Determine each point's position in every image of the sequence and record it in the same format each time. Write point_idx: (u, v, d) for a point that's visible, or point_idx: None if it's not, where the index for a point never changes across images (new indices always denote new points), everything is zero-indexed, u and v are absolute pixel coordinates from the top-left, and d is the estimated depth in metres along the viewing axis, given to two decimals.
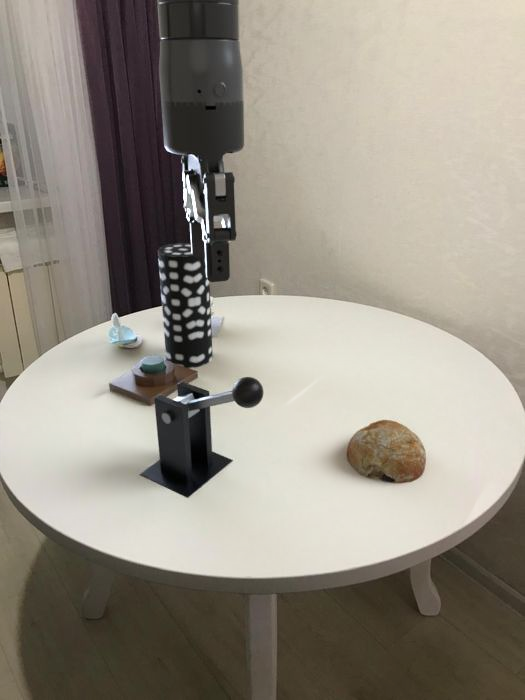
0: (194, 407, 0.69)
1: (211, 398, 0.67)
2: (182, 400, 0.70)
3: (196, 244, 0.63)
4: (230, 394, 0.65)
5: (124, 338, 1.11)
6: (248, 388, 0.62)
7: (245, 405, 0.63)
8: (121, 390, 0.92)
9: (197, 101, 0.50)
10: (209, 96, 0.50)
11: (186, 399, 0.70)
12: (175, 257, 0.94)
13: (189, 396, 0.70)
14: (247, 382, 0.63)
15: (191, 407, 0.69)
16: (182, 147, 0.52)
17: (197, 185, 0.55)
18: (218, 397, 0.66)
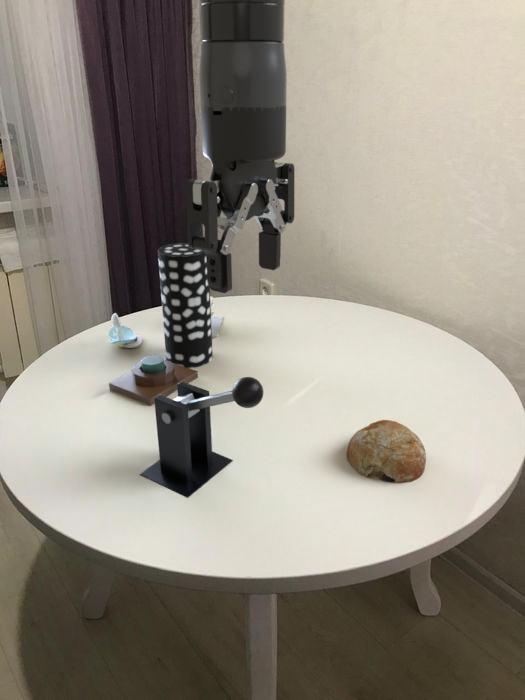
0: (194, 407, 0.69)
1: (211, 398, 0.67)
2: (182, 400, 0.70)
3: (262, 254, 0.61)
4: (230, 394, 0.65)
5: (124, 338, 1.11)
6: (248, 388, 0.62)
7: (245, 405, 0.63)
8: (121, 390, 0.92)
9: (208, 105, 0.49)
10: (216, 101, 0.49)
11: (186, 399, 0.70)
12: (175, 257, 0.94)
13: (189, 396, 0.70)
14: (247, 382, 0.63)
15: (191, 407, 0.69)
16: (203, 150, 0.52)
17: None
18: (218, 397, 0.66)
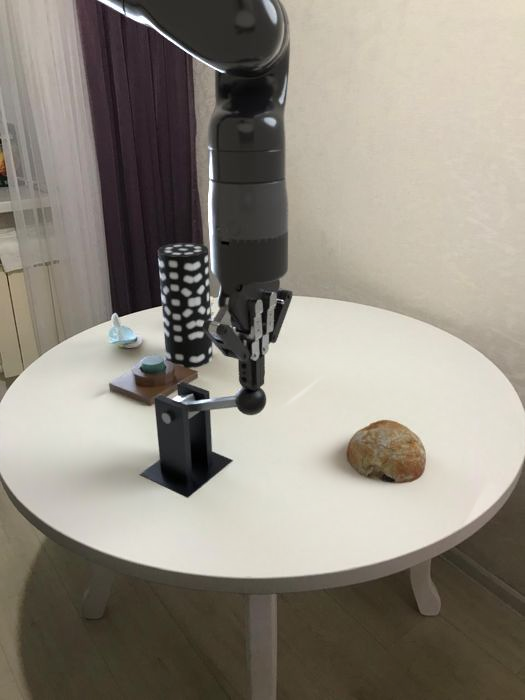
0: (195, 409, 0.69)
1: (213, 402, 0.67)
2: (183, 401, 0.70)
3: None
4: (233, 400, 0.65)
5: (124, 338, 1.11)
6: (252, 396, 0.63)
7: (248, 413, 0.63)
8: (121, 390, 0.92)
9: (216, 235, 0.54)
10: (224, 233, 0.53)
11: (187, 400, 0.70)
12: (175, 257, 0.94)
13: (190, 397, 0.70)
14: (251, 390, 0.63)
15: (191, 408, 0.69)
16: (211, 270, 0.57)
17: None
18: (220, 401, 0.66)
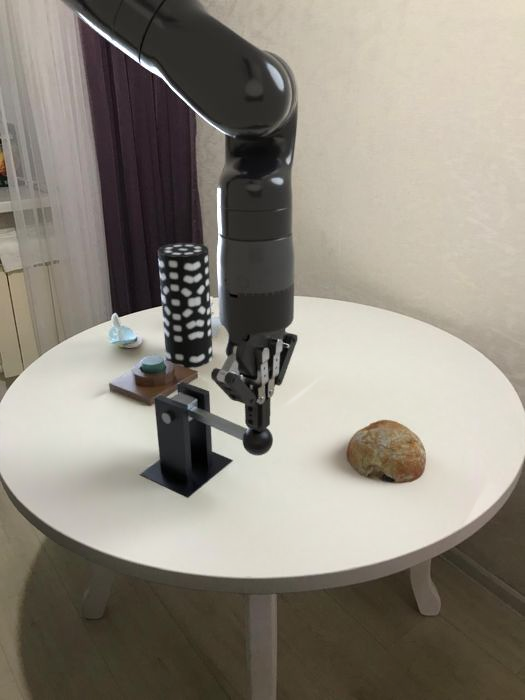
0: (196, 417, 0.70)
1: (218, 423, 0.68)
2: None
3: None
4: (240, 433, 0.66)
5: (124, 338, 1.11)
6: (262, 443, 0.64)
7: (252, 453, 0.65)
8: (121, 390, 0.92)
9: (225, 287, 0.56)
10: (232, 286, 0.55)
11: (190, 405, 0.70)
12: (175, 257, 0.94)
13: (194, 402, 0.70)
14: (263, 436, 0.64)
15: (193, 415, 0.70)
16: None
17: None
18: (226, 427, 0.67)
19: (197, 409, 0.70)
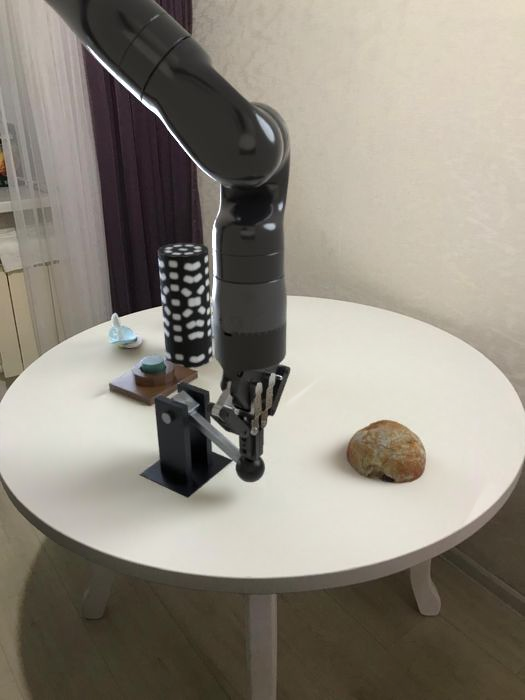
0: (194, 423, 0.70)
1: (216, 438, 0.69)
2: (189, 411, 0.70)
3: None
4: (235, 456, 0.68)
5: (124, 338, 1.11)
6: (255, 475, 0.67)
7: (242, 479, 0.68)
8: (121, 390, 0.92)
9: (219, 326, 0.58)
10: (226, 325, 0.57)
11: (192, 410, 0.70)
12: (175, 257, 0.94)
13: (196, 407, 0.70)
14: (258, 469, 0.67)
15: (192, 420, 0.70)
16: None
17: None
18: (223, 445, 0.69)
19: (197, 415, 0.70)
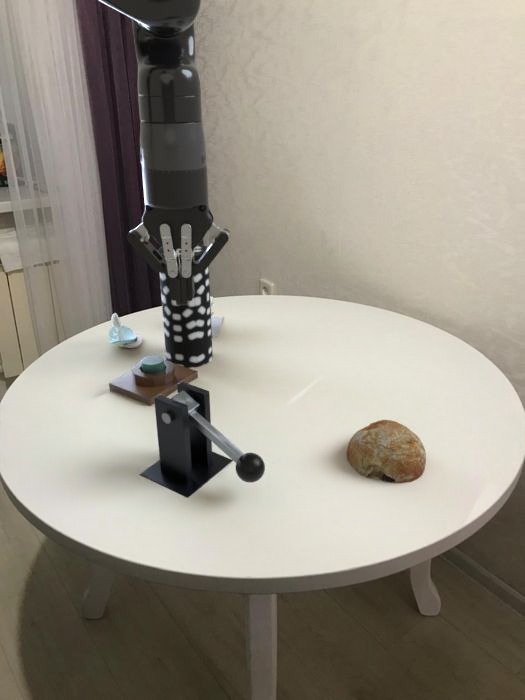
0: (194, 423, 0.70)
1: (216, 438, 0.69)
2: (189, 411, 0.70)
3: None
4: (235, 456, 0.68)
5: (124, 338, 1.11)
6: (255, 475, 0.67)
7: (241, 479, 0.68)
8: (121, 390, 0.92)
9: None
10: None
11: (192, 410, 0.70)
12: None
13: (196, 407, 0.70)
14: (258, 469, 0.67)
15: (192, 420, 0.70)
16: None
17: None
18: (223, 445, 0.69)
19: (197, 415, 0.70)
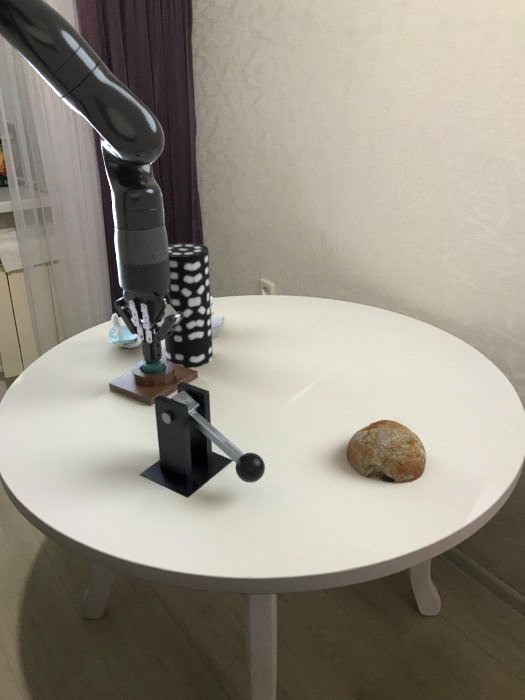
0: (194, 423, 0.70)
1: (216, 438, 0.69)
2: (189, 411, 0.70)
3: None
4: (235, 456, 0.68)
5: (124, 338, 1.11)
6: (255, 475, 0.67)
7: (241, 479, 0.68)
8: (121, 390, 0.92)
9: None
10: None
11: (192, 410, 0.70)
12: (175, 257, 0.94)
13: (196, 407, 0.70)
14: (258, 469, 0.67)
15: (192, 420, 0.70)
16: None
17: None
18: (223, 445, 0.69)
19: (197, 415, 0.70)
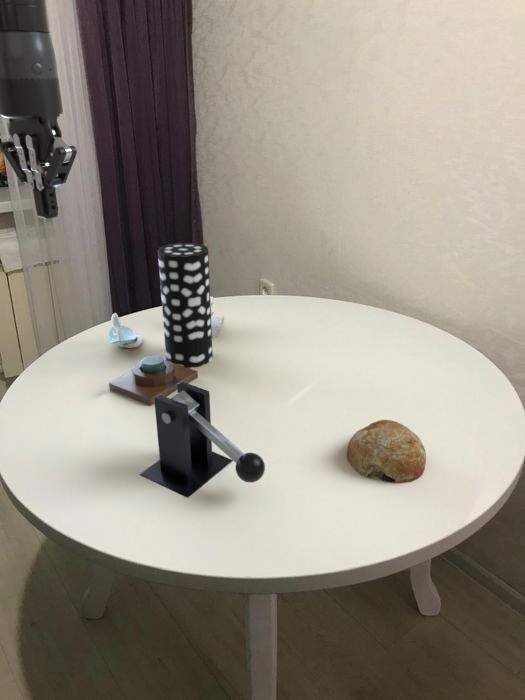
0: (194, 423, 0.70)
1: (216, 438, 0.69)
2: (189, 411, 0.70)
3: None
4: (235, 456, 0.68)
5: (124, 338, 1.11)
6: (255, 475, 0.67)
7: (241, 479, 0.68)
8: (121, 390, 0.92)
9: None
10: None
11: (192, 410, 0.70)
12: (175, 257, 0.94)
13: (196, 407, 0.70)
14: (258, 469, 0.67)
15: (192, 420, 0.70)
16: None
17: None
18: (223, 445, 0.69)
19: (197, 415, 0.70)
